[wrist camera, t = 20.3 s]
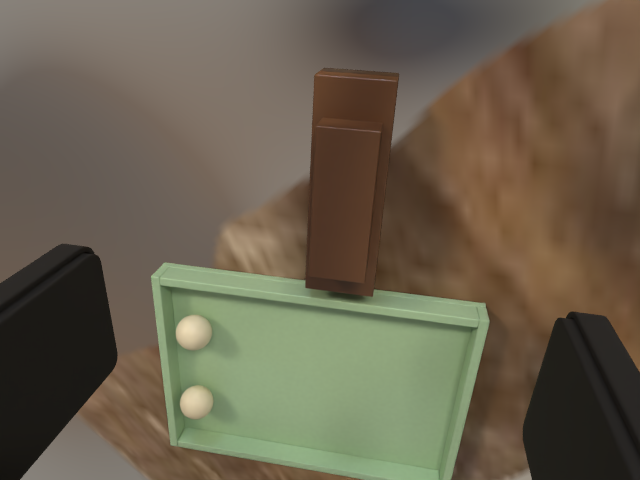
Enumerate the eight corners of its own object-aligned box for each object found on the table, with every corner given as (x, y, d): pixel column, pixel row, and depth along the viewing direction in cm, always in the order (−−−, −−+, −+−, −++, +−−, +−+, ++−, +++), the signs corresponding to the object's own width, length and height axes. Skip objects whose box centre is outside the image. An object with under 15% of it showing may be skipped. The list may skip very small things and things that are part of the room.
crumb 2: (210, 401, 34) (175, 400, 34) (210, 427, 35) (177, 426, 35) (215, 378, 36) (183, 377, 36) (216, 403, 37) (184, 402, 37)
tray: (485, 303, 30) (490, 321, 29) (445, 471, 37) (447, 494, 35) (164, 261, 33) (150, 276, 31) (181, 425, 40) (170, 445, 38)
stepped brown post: (399, 73, 25) (397, 86, 21) (375, 272, 31) (370, 317, 26) (323, 67, 26) (306, 79, 21) (313, 264, 31) (297, 307, 27)
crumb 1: (214, 322, 32) (176, 320, 31) (209, 357, 32) (172, 355, 32) (214, 311, 34) (178, 308, 34) (210, 343, 35) (175, 341, 34)
